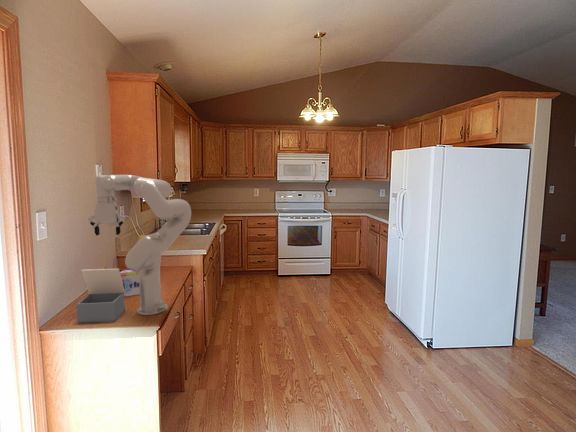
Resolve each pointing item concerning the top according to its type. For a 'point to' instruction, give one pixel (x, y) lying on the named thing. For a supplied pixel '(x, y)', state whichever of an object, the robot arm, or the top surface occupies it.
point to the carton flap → (103, 280)
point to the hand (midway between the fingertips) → (107, 234)
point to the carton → (100, 308)
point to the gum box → (130, 282)
